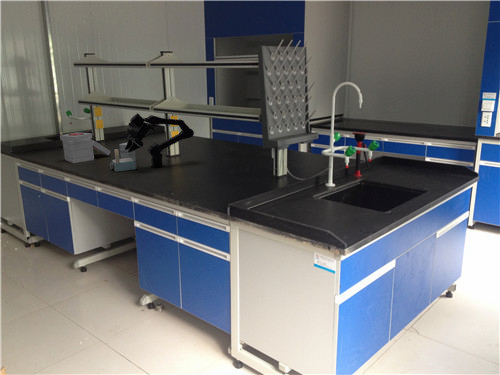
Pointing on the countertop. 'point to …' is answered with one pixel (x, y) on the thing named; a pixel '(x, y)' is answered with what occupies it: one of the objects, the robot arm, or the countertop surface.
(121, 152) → the supplement box
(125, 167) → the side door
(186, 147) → the countertop surface
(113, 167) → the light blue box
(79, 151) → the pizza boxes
